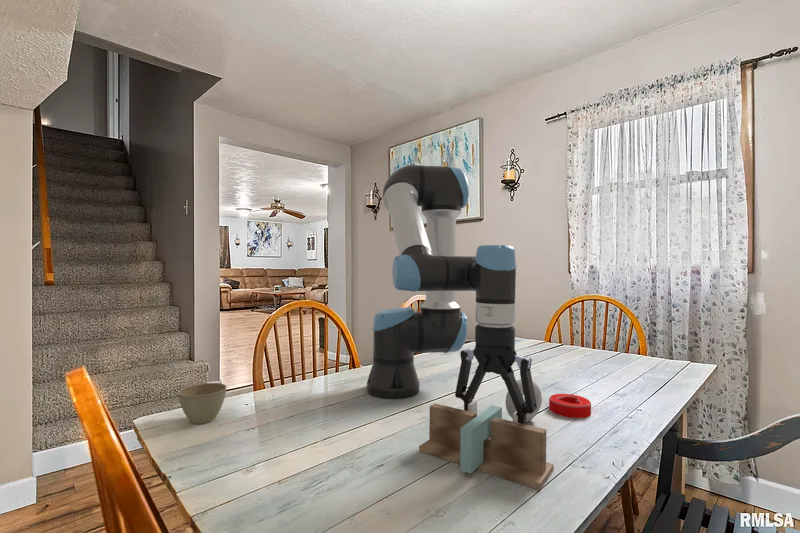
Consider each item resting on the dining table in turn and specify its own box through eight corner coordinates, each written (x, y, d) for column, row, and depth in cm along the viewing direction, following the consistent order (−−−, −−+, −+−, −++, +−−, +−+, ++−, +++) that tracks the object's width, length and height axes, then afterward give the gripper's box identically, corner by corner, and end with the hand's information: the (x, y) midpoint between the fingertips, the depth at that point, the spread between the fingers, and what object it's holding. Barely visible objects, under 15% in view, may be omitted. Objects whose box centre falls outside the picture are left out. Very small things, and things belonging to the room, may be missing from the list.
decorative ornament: (541, 406, 105) (542, 394, 105) (575, 404, 107) (575, 392, 107) (563, 420, 96) (563, 406, 96) (599, 417, 97) (600, 404, 97)
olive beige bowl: (216, 409, 100) (217, 380, 100) (233, 420, 93) (233, 389, 93) (171, 419, 93) (172, 388, 93) (186, 432, 86) (186, 398, 86)
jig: (419, 451, 78) (419, 409, 78) (439, 437, 85) (439, 398, 85) (540, 490, 65) (540, 440, 65) (553, 469, 72) (554, 424, 72)
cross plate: (470, 473, 68) (471, 430, 68) (460, 470, 69) (460, 427, 69) (501, 444, 79) (502, 407, 79) (492, 441, 81) (492, 405, 81)
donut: (512, 428, 90) (512, 383, 90) (501, 422, 93) (502, 379, 93) (545, 420, 95) (545, 377, 94) (533, 415, 98) (534, 374, 98)
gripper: (437, 321, 82) (436, 433, 82) (545, 332, 70) (544, 464, 70) (455, 318, 88) (454, 422, 88) (556, 327, 76) (555, 448, 76)
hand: (493, 440), depth 79 cm, fingers open, 8 cm apart
